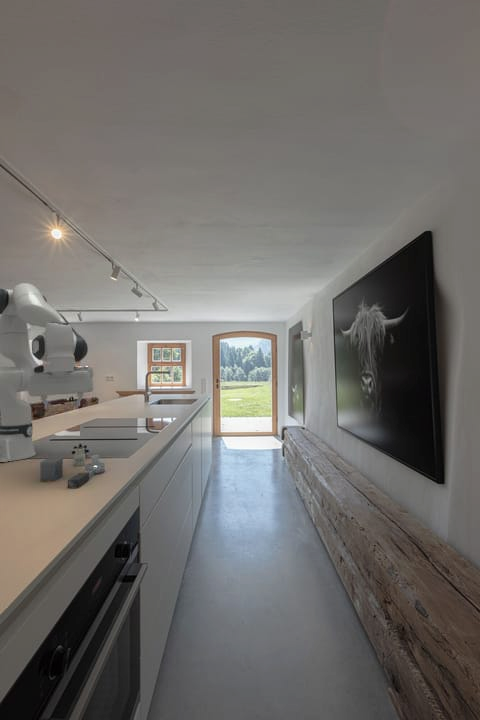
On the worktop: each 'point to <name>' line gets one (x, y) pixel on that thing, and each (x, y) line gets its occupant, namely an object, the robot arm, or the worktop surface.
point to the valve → (80, 455)
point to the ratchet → (87, 473)
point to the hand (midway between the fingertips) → (62, 407)
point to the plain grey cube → (51, 469)
